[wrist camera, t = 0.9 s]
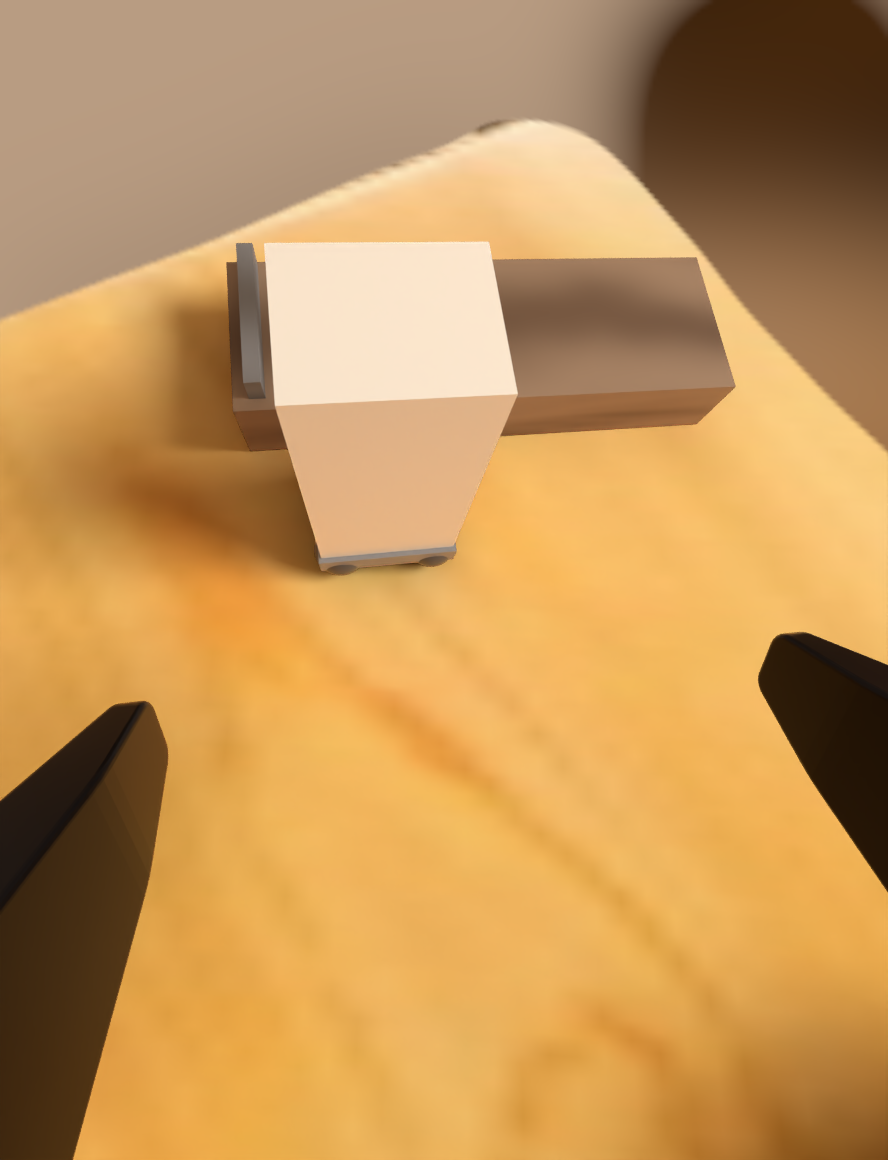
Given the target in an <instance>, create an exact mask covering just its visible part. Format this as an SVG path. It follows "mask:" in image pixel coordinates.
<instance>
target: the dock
mask: <svg viewBox="0 0 888 1160" xmlns="http://www.w3.org/2000/svg"><path fill="white" fill-rule="evenodd" d="M236 250H237V262H226V263H227V286H228V308H229V331H230V354H231V376H232V399H233V413H234V415H235V417H236V419H237V422H238V424H239V426H240V429H241V431H242V433H243V435H244V438H245V440H246V442H247V445H248V447H249V449H250V451H258V450H274V449H288V448H287V444H286V441H285V438H284V434H283V431H282V428H281V425H280V421H279V418H278V415H277V411H276V408H275V400H274V385H273V370H272V355H271V339H270V324H269V309H268V293H267V278H266V263H265V262H257V260H256V256H255V252H254V248H253V244H252V243H236ZM492 261H493V266H494V271H495V277H496V282H497V287H498V292H499V298H500V303H501V308H502V313H503V319H504V324H505V329H506V334H507V340H508V345H509V350H510V355H511V361H512V366H513V371H514V376H515V382H516V387H517V392H518V395H517V397H516V400H515V402H514V405H513V407H512V409H511V412H510V414H509V416H508V419H507V421H506V423H505V426H504V428H503V430H502V433H501V435H500V436H506V435H523V434H539V433H556V432H572V431H589V430H606V429H622V428H639V427H655V426H672V425H688V424H697V423H698V422H699V421H700V420H701V419H702V418H703V417H704V416H705V415H707V414H708V413H709V412H710V411H711V410H712V409H713V408H714V407H715V406H716V405H717V404H718V403H719V402H720V401H721V400H722V399H723V398H724V397H725V396H726V395H727V394H728V393H729V392H731V391H732V390H733V389H734V388H735V387H736V386H735V383H734V379H733V376H732V373H731V370H730V366H729V363H728V360H727V356H726V353H725V350H724V347H723V343H722V340H721V337H720V333H719V330H718V327H717V324H716V320H715V317H714V314H713V310H712V307H711V304H710V300H709V297H708V294H707V291H706V287H705V284H704V281H703V277H702V274H701V271H700V268H699V264H698V261H697V258H696V257H695V258H600V259H505V260H492Z"/></svg>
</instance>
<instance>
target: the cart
mask: <svg viewBox="0 0 888 1160" xmlns="http://www.w3.org/2000/svg"><path fill="white" fill-rule="evenodd" d="M264 248H265V263H266V278H267V293H268V309H269V324H270V339H271V355H272V370H273V385H274V400H275V408H276V411H277V415H278V418H279V421H280V425H281V428H282V431H283V434H284V438H285V441H286V444H287V448H288V451H289V454H290V457H291V461H292V464H293V467H294V471H295V474H296V477H297V480H298V484H299V487H300V490H301V494H302V497H303V500H304V504H305V507H306V510H307V513H308V517H309V520H310V523H311V527H312V530H313V533H314V536H315V540H316V542H315V547H314V552H315V557H316V560H317V562H318V563H319V566H320V569H321V571H327V572H329V573H331V574H334V575H347V574H350V573H352V572H354V571H356V570H357V569H358V568H362V567H373V566H384V565H394V564H405V563H416V562H417V563H419V564H421V565H423V566H427V567H434V566H439V565H441V564H443V563H445V562H446V561H447V560H448V559H453V558H454V556H455V553H456V539H457V537H458V534H459V532H460V529H461V527H462V525H463V522H464V520H465V518H466V515H467V513H468V511H469V508H470V506H471V504H472V501H473V499H474V496H475V494H476V492H477V489H478V487H479V485H480V482H481V480H482V478H483V475H484V473H485V471H486V468H487V466H488V463H489V461H490V459H491V456H492V454H493V452H494V449H495V447H496V445H497V442H498V440H499V438H500V435H501V433H502V430H503V428H504V426H505V423H506V421H507V419H508V416H509V414H510V412H511V409H512V407H513V405H514V402H515V400H516V397H517V395H518V392H517V387H516V382H515V376H514V371H513V366H512V361H511V355H510V350H509V345H508V340H507V334H506V329H505V324H504V319H503V313H502V308H501V303H500V298H499V292H498V287H497V282H496V277H495V271H494V266H493V261H492V256H491V250H490V245H489V242H359V243H264Z"/></svg>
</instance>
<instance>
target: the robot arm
mask: <svg viewBox="0 0 888 1160" xmlns="http://www.w3.org/2000/svg"><path fill="white" fill-rule="evenodd" d="M758 683H759V687H760V690H761V692H762V694H763V696H764V698H765V699H766V701H767V703H768V705H769V707H770V708H771V710H772V712H773V714H774V716H775V717H776V719H777V721H778V723H779V725H780V726H781V728H782V730H783V732H784V733H785V735H786V737H787V739H788V741H789V742H790V744H791V746H792V748H793V750H794V751H795V753H796V755H797V757H798V758H799V760H800V762H801V764H802V766H803V767H804V769H805V771H806V772H807V774H808V776H809V777H810V779H811V781H812V782H813V784H814V785H815V787H816V788H817V790H818V791H819V793H820V794H821V796H822V797H823V799H824V800H825V802H826V803H827V804H828V806H829V807H830V809H831V810H832V812H833V813H834V815H835V816H836V818H837V819H838V820H839V822H840V823H841V825H842V826H843V828H844V829H845V831H846V832H847V834H848V835H849V837H850V838H851V839H852V841H853V842H854V844H855V845H856V847H857V848H858V850H859V851H860V853H861V854H862V855H863V857H864V858H865V860H866V861H867V863H868V864H869V866H870V867H871V869H872V870H873V871H874V873H875V874H876V876H877V877H878V879H879V880H880V882H881V883H882V885H883V886H884V888H885V889H886V890H887V892H888V665H887V664H884V663H882V662H879V661H877V660H874V659H872V658H869V657H867V656H864V655H862V654H859V653H857V652H854V651H852V650H849V649H847V648H844V647H842V646H839V645H837V644H834V643H832V642H829V641H827V640H824V639H822V638H819V637H817V636H814V635H812V634H809V633H806V632H795V633H785V634H780V635H778V636H776V637H775V638H774V639H773V641H772V642H771V645H770V647H769V650H768V652H767V655H766V657H765V660H764V662H763V664H762V667H761V669H760V672H759V675H758ZM167 765H168V748H167V744H166V741H165V738H164V735H163V732H162V730H161V727H160V724H159V721H158V719H157V716H156V713H155V710H154V708H153V706H152V705H151V704H150V703H149V702H146V701H138V702H129V703H120V704H116V705H113V706H112V707H110V708H109V709H107V710H106V711H105V712H104V713H103V714H102V715H100V716H99V717H98V718H97V719H96V720H95V721H93V722H92V723H91V724H90V725H89V726H88V727H86V728H85V729H84V730H83V731H82V732H80V733H79V734H78V735H77V736H76V737H75V738H73V739H72V740H71V741H70V742H69V743H68V744H66V745H65V746H64V747H63V748H62V749H61V750H59V751H58V752H57V753H56V754H55V755H54V756H52V757H51V758H50V759H49V760H48V761H46V762H45V763H44V764H43V765H42V766H41V767H39V768H38V769H37V770H36V771H35V772H34V773H32V774H31V775H30V776H29V777H28V778H27V779H25V780H24V781H23V782H22V783H21V784H19V785H18V786H17V787H16V788H15V789H14V790H12V791H11V792H10V793H9V794H8V795H7V796H5V797H4V798H3V799H2V800H1V801H0V1160H73V1157H74V1154H75V1150H76V1146H77V1143H78V1139H79V1135H80V1132H81V1128H82V1124H83V1121H84V1117H85V1113H86V1110H87V1106H88V1102H89V1099H90V1095H91V1091H92V1088H93V1084H94V1080H95V1077H96V1073H97V1069H98V1066H99V1062H100V1058H101V1055H102V1051H103V1047H104V1044H105V1040H106V1036H107V1033H108V1029H109V1025H110V1022H111V1018H112V1014H113V1011H114V1007H115V1004H116V1000H117V996H118V993H119V989H120V985H121V982H122V978H123V974H124V971H125V967H126V963H127V960H128V956H129V952H130V949H131V945H132V941H133V938H134V934H135V930H136V927H137V923H138V919H139V916H140V912H141V908H142V905H143V901H144V897H145V893H146V889H147V885H148V881H149V877H150V872H151V866H152V861H153V855H154V848H155V842H156V835H157V829H158V823H159V816H160V810H161V803H162V797H163V790H164V784H165V777H166V771H167Z"/></svg>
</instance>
